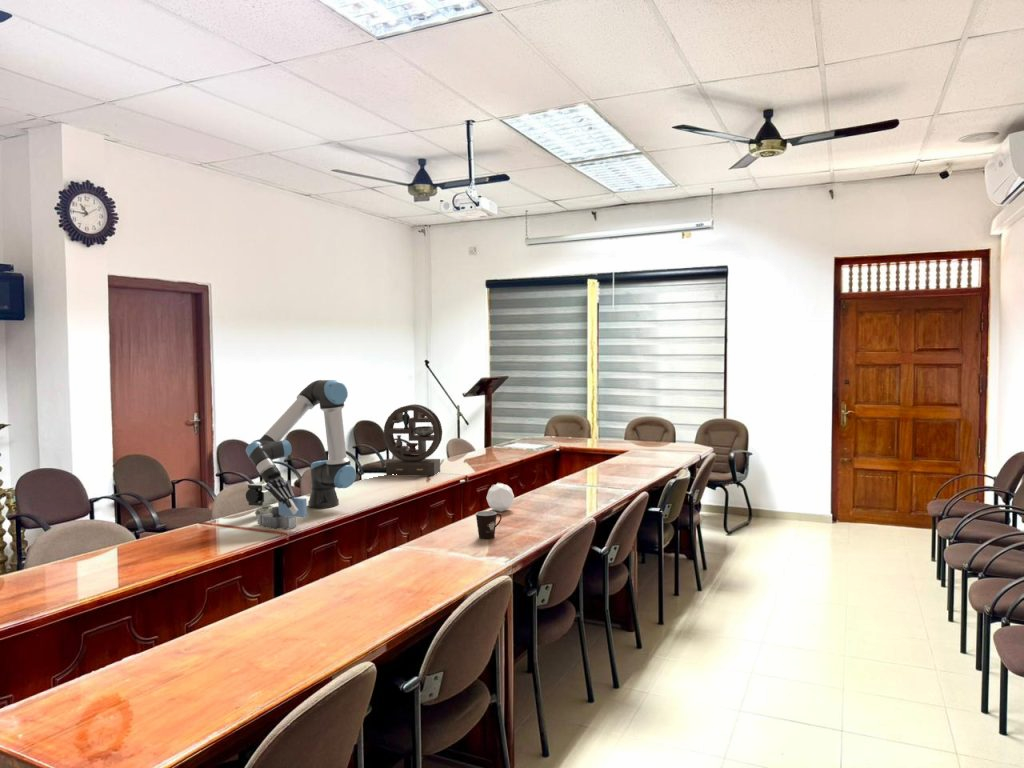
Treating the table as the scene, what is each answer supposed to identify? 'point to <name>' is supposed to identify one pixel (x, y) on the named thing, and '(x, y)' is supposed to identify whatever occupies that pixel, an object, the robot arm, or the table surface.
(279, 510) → the lever
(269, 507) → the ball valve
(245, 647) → the table surface
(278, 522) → the valve body
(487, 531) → the coffee mug
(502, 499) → the geodesic sphere
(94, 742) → the table surface
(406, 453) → the round curio shelf
